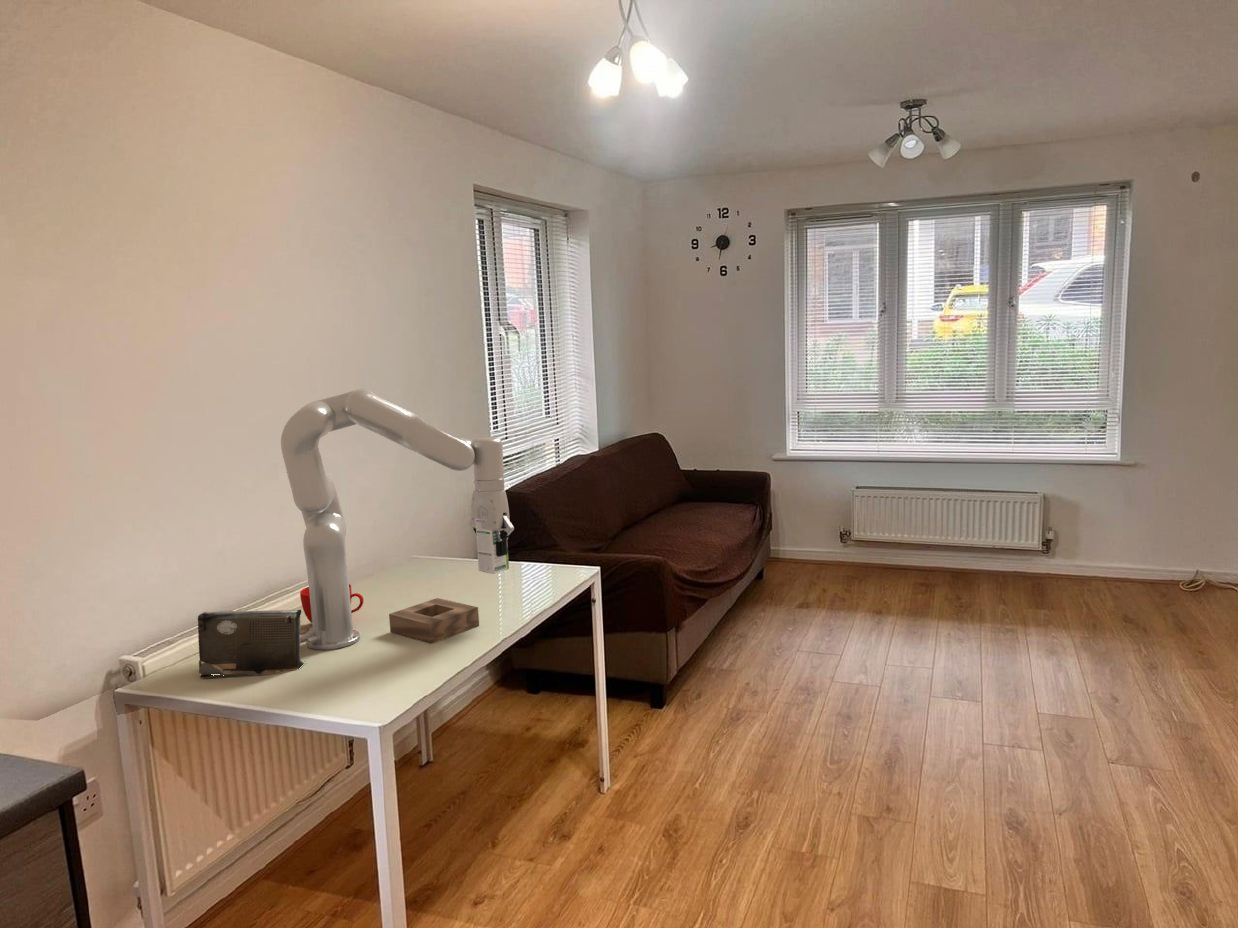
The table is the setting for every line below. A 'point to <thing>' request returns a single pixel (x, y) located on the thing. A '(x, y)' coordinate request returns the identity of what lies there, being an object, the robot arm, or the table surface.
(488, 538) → the syrup box
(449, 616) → the socket block
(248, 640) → the radio
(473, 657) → the table surface
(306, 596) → the ceramic cup
